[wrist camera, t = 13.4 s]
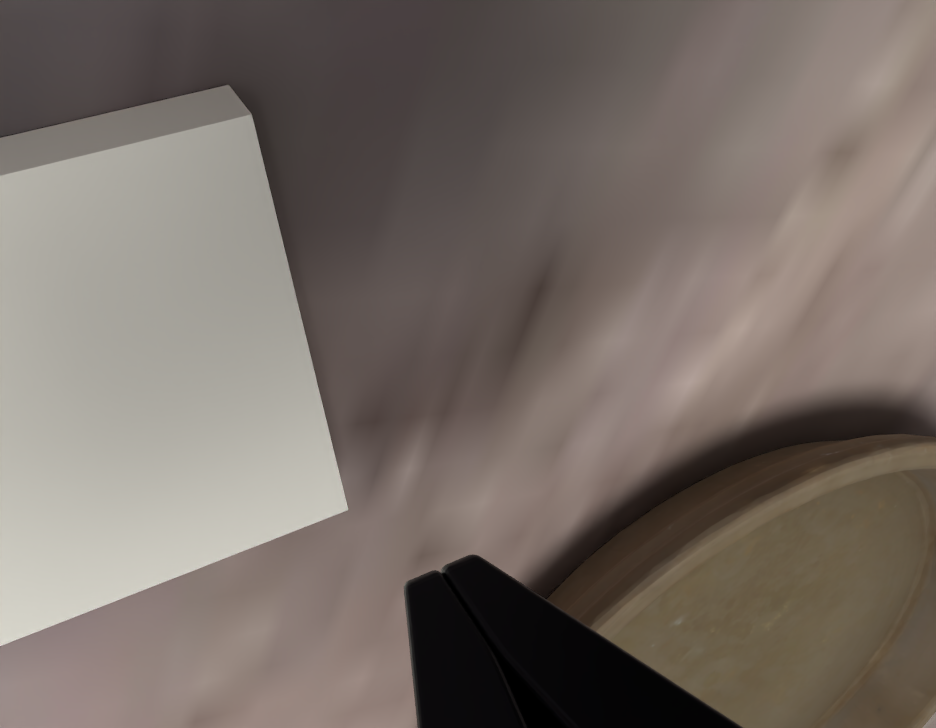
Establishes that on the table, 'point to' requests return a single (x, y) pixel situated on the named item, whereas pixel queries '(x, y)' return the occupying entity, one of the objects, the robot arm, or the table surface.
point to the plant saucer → (784, 586)
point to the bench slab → (147, 359)
